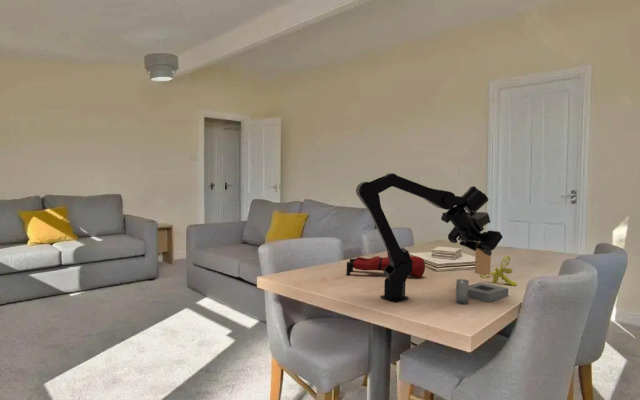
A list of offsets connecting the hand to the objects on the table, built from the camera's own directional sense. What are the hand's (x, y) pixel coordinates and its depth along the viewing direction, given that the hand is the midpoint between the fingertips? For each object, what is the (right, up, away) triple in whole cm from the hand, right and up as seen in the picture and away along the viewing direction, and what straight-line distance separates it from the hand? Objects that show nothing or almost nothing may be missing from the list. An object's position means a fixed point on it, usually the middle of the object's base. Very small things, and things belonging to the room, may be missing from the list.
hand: (486, 253), depth 144 cm
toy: (-30, -12, +26) cm, 41 cm away
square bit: (-1, -7, 0) cm, 7 cm away
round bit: (-12, -14, -11) cm, 21 cm away
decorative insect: (+10, -13, +14) cm, 22 cm away
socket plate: (-2, -13, -2) cm, 14 cm away
